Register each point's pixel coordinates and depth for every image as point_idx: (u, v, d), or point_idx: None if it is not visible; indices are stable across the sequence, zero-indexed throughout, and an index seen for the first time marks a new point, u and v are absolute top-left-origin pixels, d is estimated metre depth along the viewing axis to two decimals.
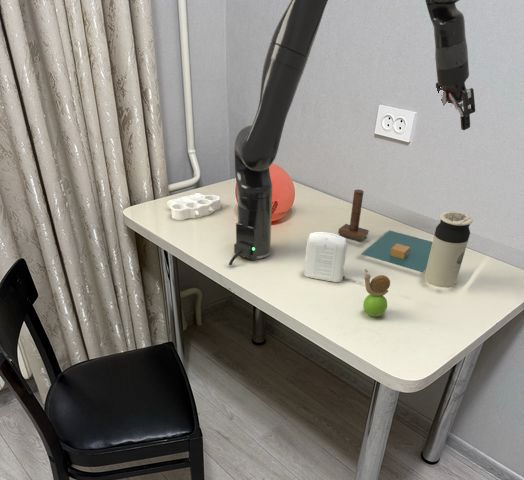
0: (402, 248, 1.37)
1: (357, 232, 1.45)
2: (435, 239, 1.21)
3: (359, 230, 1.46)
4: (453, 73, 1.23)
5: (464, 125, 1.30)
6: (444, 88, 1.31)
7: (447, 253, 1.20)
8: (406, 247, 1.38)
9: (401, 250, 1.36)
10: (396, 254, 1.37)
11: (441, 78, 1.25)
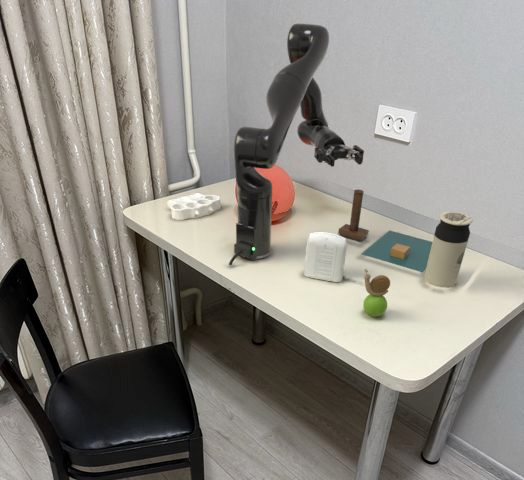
0: (402, 248, 1.37)
1: (357, 232, 1.45)
2: (435, 239, 1.21)
3: (359, 230, 1.46)
4: None
5: (361, 157, 1.46)
6: (328, 148, 1.51)
7: (447, 253, 1.20)
8: (406, 247, 1.38)
9: (401, 250, 1.36)
10: (396, 254, 1.37)
11: (335, 134, 1.53)
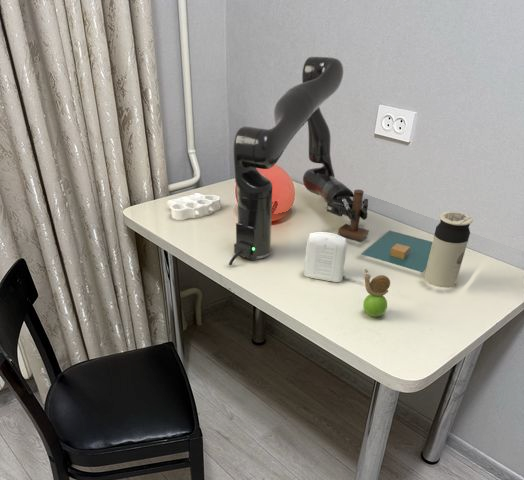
0: (402, 248, 1.37)
1: (357, 232, 1.45)
2: (435, 239, 1.21)
3: (359, 230, 1.46)
4: None
5: (365, 212, 1.43)
6: (337, 200, 1.48)
7: (447, 253, 1.20)
8: (406, 247, 1.38)
9: (401, 250, 1.36)
10: (396, 254, 1.37)
11: (344, 186, 1.51)
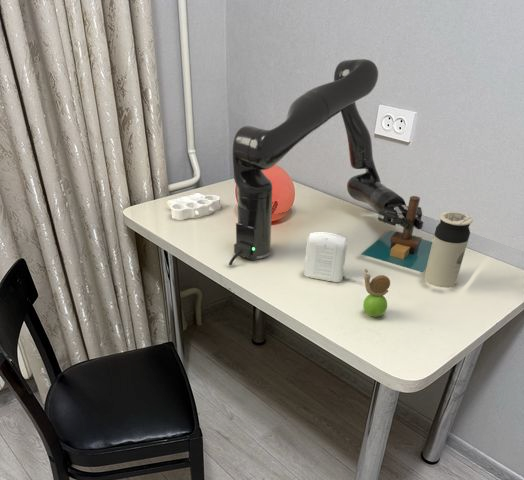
0: (402, 248, 1.37)
1: (411, 240, 1.38)
2: (435, 239, 1.21)
3: (412, 238, 1.40)
4: None
5: None
6: (389, 208, 1.42)
7: (447, 253, 1.20)
8: (406, 247, 1.38)
9: (401, 250, 1.36)
10: (396, 254, 1.37)
11: (396, 194, 1.44)
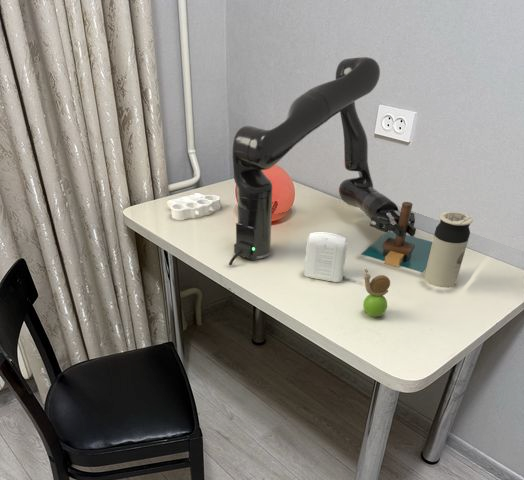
0: (396, 256, 1.34)
1: (404, 247, 1.35)
2: (435, 239, 1.21)
3: (405, 244, 1.36)
4: None
5: (414, 228, 1.32)
6: (381, 214, 1.38)
7: (447, 253, 1.20)
8: (400, 254, 1.34)
9: (396, 258, 1.33)
10: (390, 261, 1.33)
11: (388, 199, 1.40)
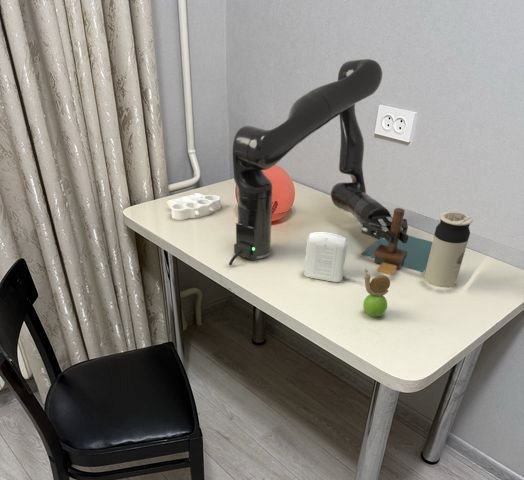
0: (389, 267, 1.31)
1: (396, 254, 1.31)
2: (435, 239, 1.21)
3: (397, 251, 1.32)
4: None
5: None
6: (373, 220, 1.34)
7: (447, 253, 1.20)
8: (393, 266, 1.31)
9: (388, 269, 1.30)
10: None
11: (380, 205, 1.37)
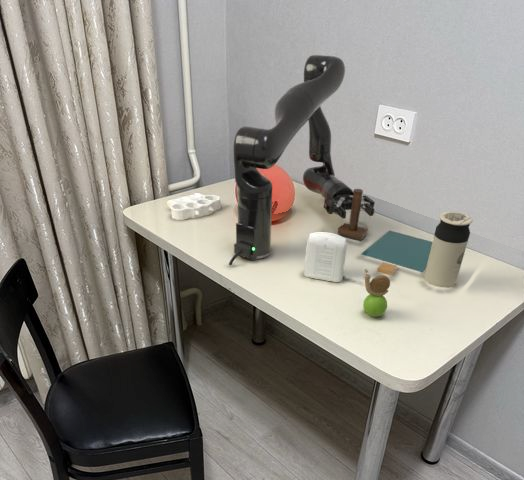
0: (389, 267, 1.31)
1: (357, 231, 1.46)
2: (435, 239, 1.21)
3: (358, 229, 1.47)
4: None
5: None
6: (337, 199, 1.48)
7: (447, 253, 1.20)
8: (393, 266, 1.31)
9: (388, 270, 1.30)
10: None
11: (344, 185, 1.50)
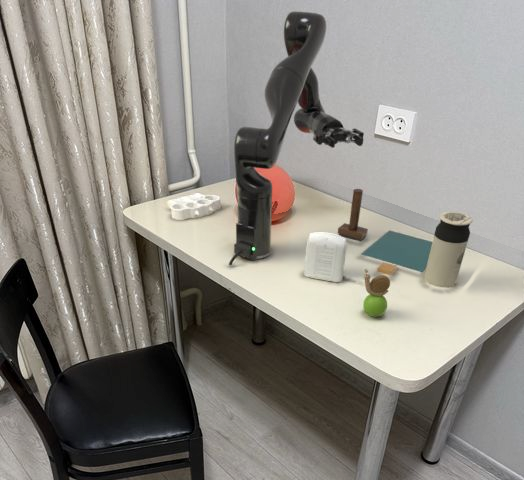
0: (389, 267, 1.31)
1: (357, 231, 1.46)
2: (435, 239, 1.21)
3: (358, 229, 1.47)
4: None
5: (361, 138, 1.44)
6: (327, 131, 1.48)
7: (447, 253, 1.20)
8: (393, 266, 1.31)
9: (388, 270, 1.30)
10: None
11: (334, 118, 1.51)
